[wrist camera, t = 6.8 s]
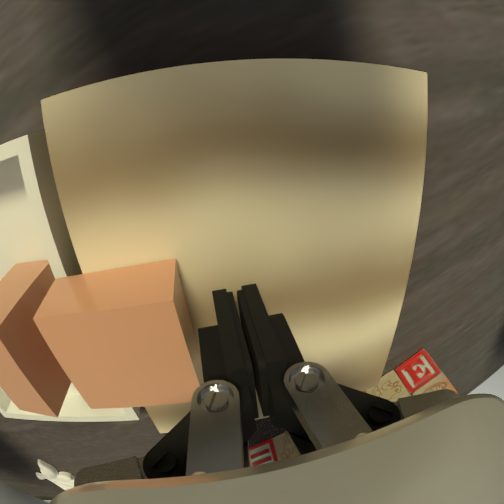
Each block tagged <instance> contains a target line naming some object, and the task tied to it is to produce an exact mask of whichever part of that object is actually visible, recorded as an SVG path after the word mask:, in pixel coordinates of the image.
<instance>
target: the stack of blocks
mask: <svg viewBox="0 0 504 504" xmlns="http://www.w3.org/2000/svg"><path fill="white" fill-rule="evenodd" d="M441 389H449V390H453V391H454V392H456V393H457V391H456V390H455V388H454V387H453V385H452V384H451V383H450V381H449V380H448V379H447V377H446V376H445V374H444V373H443V372H441V370H440V369H439V367H438V366H437V365H436V363H435V362H434V361H433V359H432V358H431V357H430V355H429V354H428V353H427V352H426V351H425V349H422V350H420V351H419V352H418V353H416V354H415V355H414V356H412V357H411V358H410V359H408V360H407V361H405V362H404V363H403V364H401V365H400V366H398V367H397V368H396V369H395V370H392V371H390V372H388V373H387V374H385V375H384V376H382V377H381V378H380V381H379V384H378V386H376V387H373V388H370V389H367V390H364V391H362V392H365V393H368V394H371V395H374V396H378V397H381V398H384V399H387V400H389V401H391V402H395V401H397V400H398V398H403V397H408V396H414V395H419V394H423V393H428V392H433V391H437V390H441ZM457 394H458V393H457ZM458 395H459V394H458ZM249 455H250V467H252V466H257V465H262V464H266V463H271V462H275V461H280V460H284V459H288V458H292V457H296V456H297V455H296V453H295V451H294V449H293V447H292V445H291V444H290V442H289V440H288V438H287V436H286V434H285V432H284V433H282V434H280V435H278V436H276V437H274V438H271V439H269V440H266V441H264V442H262V443H260V444H257V445H255V446H253V447H250V448H249Z"/></svg>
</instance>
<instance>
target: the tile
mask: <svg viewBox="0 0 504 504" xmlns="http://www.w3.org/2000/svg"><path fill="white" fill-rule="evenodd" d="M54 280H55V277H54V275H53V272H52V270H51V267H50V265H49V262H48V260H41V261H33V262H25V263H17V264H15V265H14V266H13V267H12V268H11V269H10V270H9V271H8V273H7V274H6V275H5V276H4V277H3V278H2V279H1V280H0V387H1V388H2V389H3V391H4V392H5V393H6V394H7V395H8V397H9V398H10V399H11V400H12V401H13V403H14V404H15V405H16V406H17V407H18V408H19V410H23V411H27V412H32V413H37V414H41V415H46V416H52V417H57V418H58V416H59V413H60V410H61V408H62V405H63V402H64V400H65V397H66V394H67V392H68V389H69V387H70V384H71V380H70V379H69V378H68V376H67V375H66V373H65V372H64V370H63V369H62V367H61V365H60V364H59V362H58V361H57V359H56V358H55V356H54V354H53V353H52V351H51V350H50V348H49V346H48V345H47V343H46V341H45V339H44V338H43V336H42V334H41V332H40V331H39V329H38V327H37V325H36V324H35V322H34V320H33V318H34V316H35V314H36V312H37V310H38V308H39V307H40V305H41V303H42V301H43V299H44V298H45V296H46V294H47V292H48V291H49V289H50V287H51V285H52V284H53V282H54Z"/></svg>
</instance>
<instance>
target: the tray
mask: <svg viewBox="0 0 504 504" xmlns="http://www.w3.org/2000/svg"><path fill="white" fill-rule="evenodd" d="M41 260H48V262H49V265H50V267H51V270H52V272H53V275H54V277H55V279H56V278H62V277H68V276H74V275H80V274H83V273H82V270H81V268H80V265H79V262H78V259H77V256H76V253H75V250H74V247H73V244H72V241H71V238H70V234H69V231H68V228H67V224H66V221H65V218H64V214H63V210H62V207H61V203H60V199H59V195H58V191H57V187H56V183H55V179H54V174H53V170H52V165H51V161H50V156H49V151H48V145H47V140H46V134H45V129H44V130H41V131H38V132H34V133H31V134H28V135H25V136H22V137H20V138H17V139H14V140H12V141H9V142H7V143H4V144H2V145H0V280H1V279H2V278H3V277H4V276H5V275H6V274H7V273H8V271H9V270H10V269H11V268H12V267H13V266H14V265H15V264H17V263H25V262H33V261H41ZM0 412H1V413H2V414H3V416H4V417H8V418H17V419H29V420H44V421H72V422H98V421H127V420H140V407H128V408H103V409H91V408H90V407H89V405H88V404H87V403H86V401H85V400H84V399H83V397H82V396H81V395H80V393H79V392H78V390H77V389H76V388H75V386H74V385H73V383H72V382H71V384H70V387H69V389H68V392H67V394H66V397H65V400H64V402H63V405H62V408H61V410H60V413H59V416H58V418H57V417H52V416H46V415H41V414H37V413H32V412H27V411H23V410H19V408H18V407H17V406H16V405H15V404H14V403H13V401H12V400H11V399H10V398H9V397H8V395H7V394H6V393H5V392H4V391H3V389H2V388H1V387H0Z"/></svg>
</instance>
